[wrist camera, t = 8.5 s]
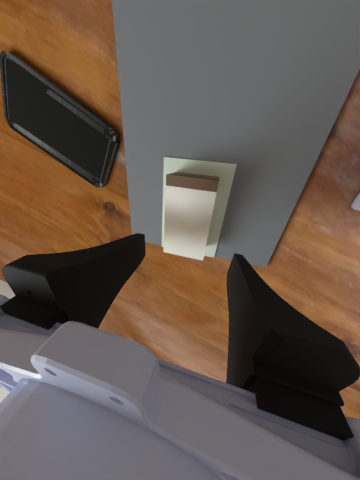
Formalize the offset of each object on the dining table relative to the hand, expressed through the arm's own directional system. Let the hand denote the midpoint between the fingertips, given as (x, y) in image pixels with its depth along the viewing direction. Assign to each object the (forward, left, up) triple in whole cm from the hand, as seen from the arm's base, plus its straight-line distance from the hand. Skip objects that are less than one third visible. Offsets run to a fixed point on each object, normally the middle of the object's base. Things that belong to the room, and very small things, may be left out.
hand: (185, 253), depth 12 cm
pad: (+1, 0, -9) cm, 9 cm away
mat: (0, -6, -9) cm, 11 cm away
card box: (+1, -1, -9) cm, 9 cm away
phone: (+19, -8, -10) cm, 23 cm away
